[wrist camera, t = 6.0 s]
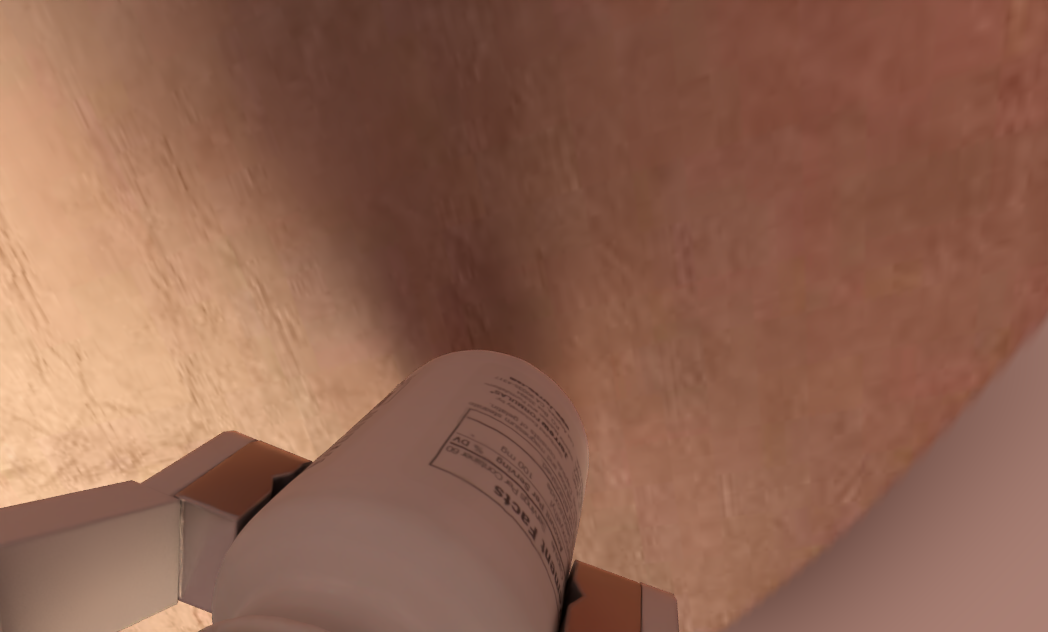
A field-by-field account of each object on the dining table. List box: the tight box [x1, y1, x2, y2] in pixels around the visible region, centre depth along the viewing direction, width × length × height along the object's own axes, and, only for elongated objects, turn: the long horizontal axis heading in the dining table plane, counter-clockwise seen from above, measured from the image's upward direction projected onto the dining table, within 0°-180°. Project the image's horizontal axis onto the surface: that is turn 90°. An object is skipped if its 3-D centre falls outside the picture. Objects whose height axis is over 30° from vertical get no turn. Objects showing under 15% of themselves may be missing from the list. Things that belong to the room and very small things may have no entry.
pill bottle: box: [199, 350, 589, 632], centre depth 8 cm, size 4×4×8 cm
